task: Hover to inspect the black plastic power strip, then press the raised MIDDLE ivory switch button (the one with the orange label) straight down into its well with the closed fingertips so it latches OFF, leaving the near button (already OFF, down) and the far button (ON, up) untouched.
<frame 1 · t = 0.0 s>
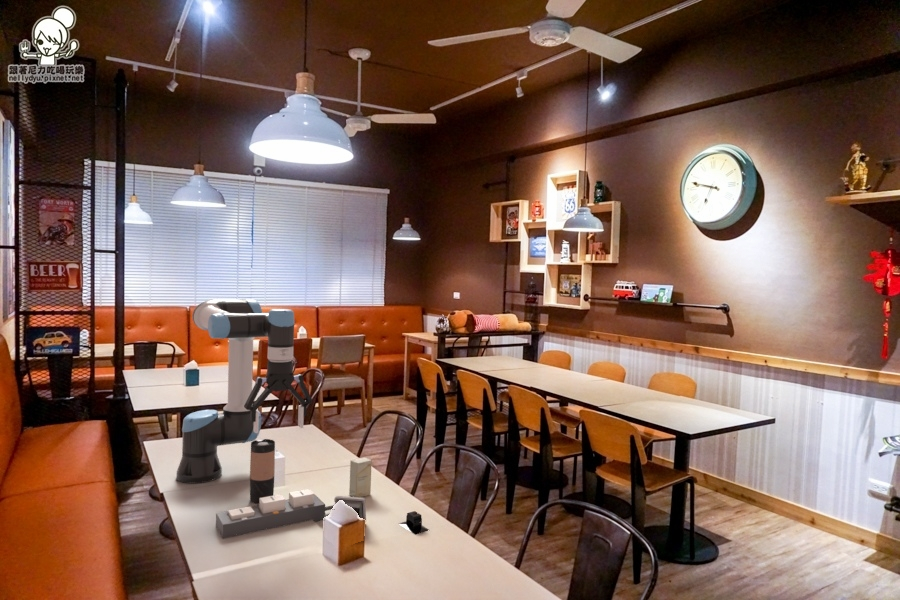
hand: (278, 429, 176), 28 cm above the table, fingers open, 13 cm apart
button 1: (241, 519, 169), point 4 cm above the table, slide at 2.0 cm
button 3: (301, 501, 179), point 6 cm above the table, slide at 0.0 cm
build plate: (413, 529, 176), on the table
skincare box: (359, 495, 200), on the table
travel mug: (261, 502, 190), on the table
electrical switch: (349, 527, 175), on the table
button 2: (272, 506, 174), point 6 cm above the table, slide at 0.0 cm
power strip: (271, 524, 174), on the table
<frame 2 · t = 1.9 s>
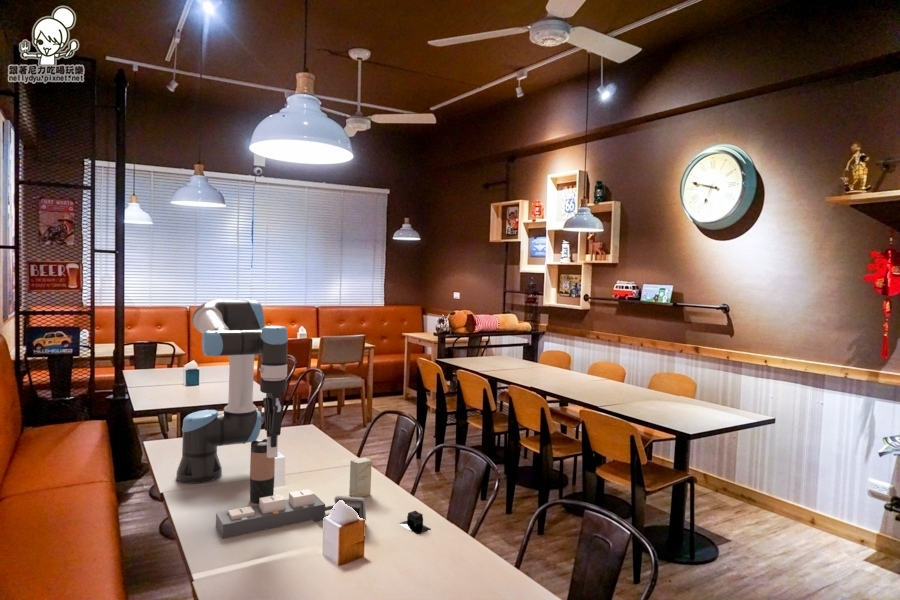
hand: (272, 456, 173), 21 cm above the table, fingers closed
nothing on the table moved.
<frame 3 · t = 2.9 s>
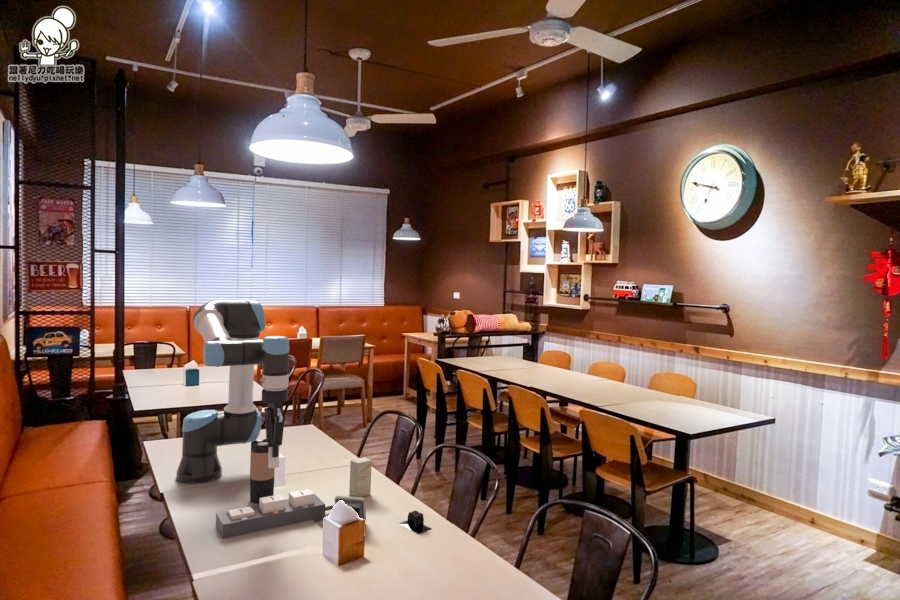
hand: (273, 466, 173), 18 cm above the table, fingers closed
nothing on the table moved.
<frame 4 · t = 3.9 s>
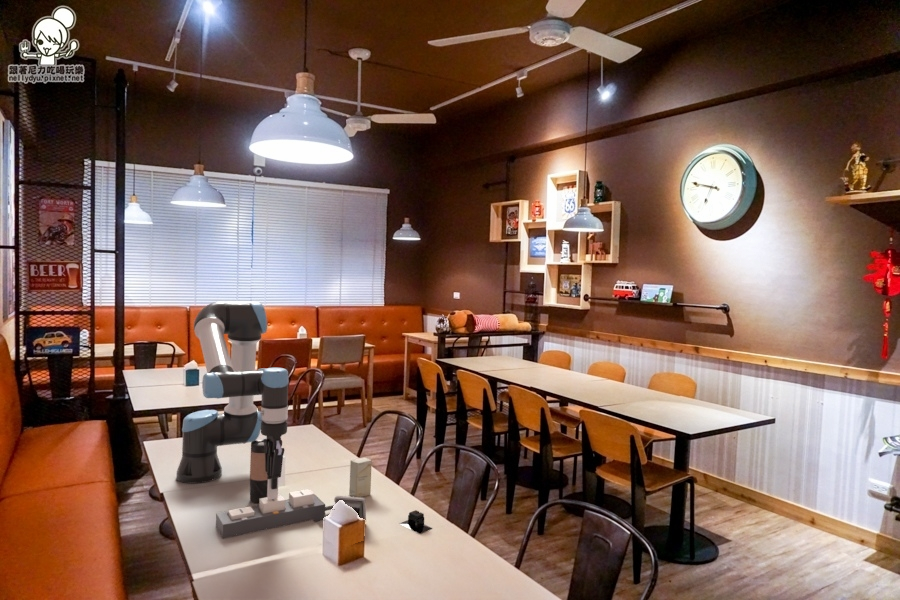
hand: (272, 498, 173), 8 cm above the table, fingers closed
button 2: (272, 507, 174), point 5 cm above the table, slide at 0.2 cm, touching gripper
everything else where it was.
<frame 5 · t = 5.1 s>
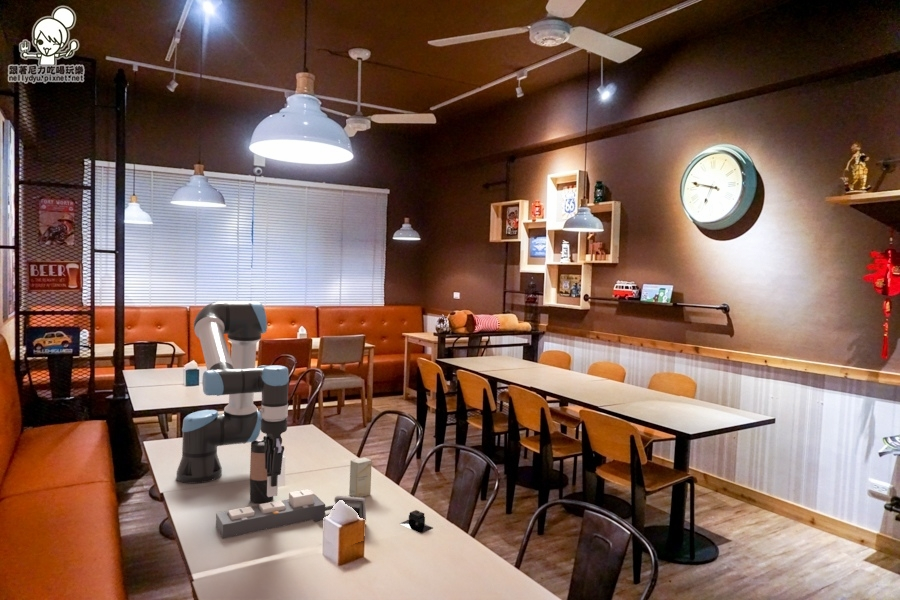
hand: (272, 495, 174), 9 cm above the table, fingers closed
button 2: (272, 512, 174), point 4 cm above the table, slide at 1.9 cm
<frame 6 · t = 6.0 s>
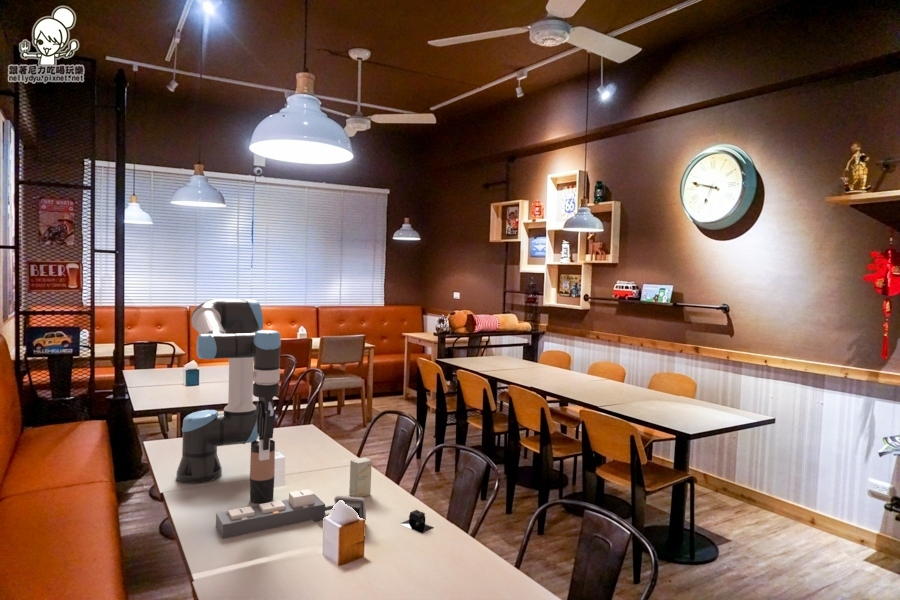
hand: (264, 459, 175), 19 cm above the table, fingers closed
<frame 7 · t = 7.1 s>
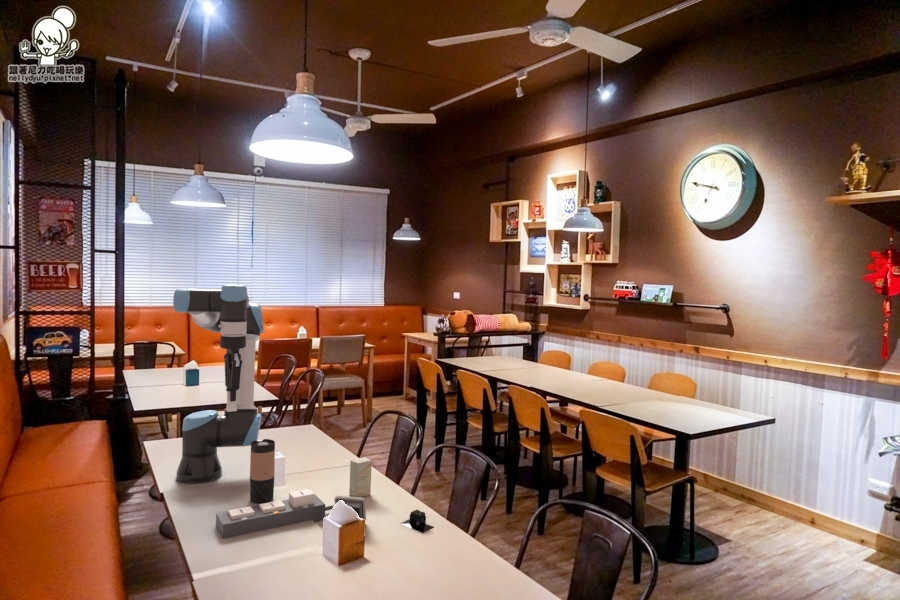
hand: (231, 410, 179), 32 cm above the table, fingers closed
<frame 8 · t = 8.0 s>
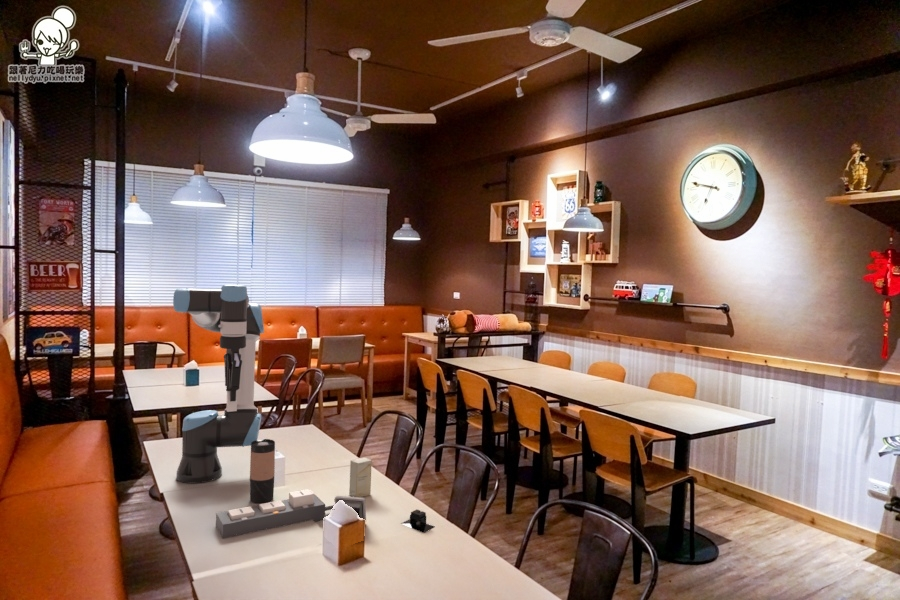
hand: (231, 410, 179), 32 cm above the table, fingers closed
at the end: button 2 slide at 1.9 cm; button 3 slide at 0.0 cm; button 1 slide at 2.0 cm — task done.
